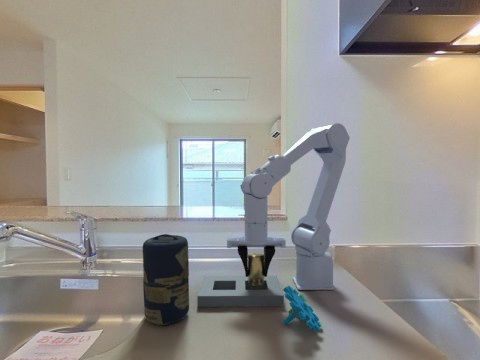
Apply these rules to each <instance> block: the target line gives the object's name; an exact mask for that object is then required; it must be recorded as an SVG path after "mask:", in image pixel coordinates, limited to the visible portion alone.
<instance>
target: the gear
mask: <svg viewBox="0 0 480 360" xmlns="http://www.w3.org/2000/svg"><path fill="white" fill-rule="evenodd" d="M282 291H283V293H284V297H285V298H286V300H289V306H290V309H289V310H288V311H287V313H288V314H289V315H288V316H286V318H285V319H283V321H282V322H283V324H284V325H285V326H287V325H289V324H290V323H291V322H292V321H293V320H294V319H295V318H296V317H297V318H299V319H300V321H303V320H304V319H305V320H306V322H305V324H306V326H307V327H308V328H309V329H313V330H314V331H315V332H319V331H320V330H321V327H322V324H321V323H320V322H319V321H320V318H319V316H318V315H317V314H315V313H314V309H313V307H312V306H311V305H308V303H307V300H306V298H305V296H304V295H303V293H300V294H299V292H298V291H297V290H296V289H293V287H292V286H291V285H288V286H285V287H284V288H283V289H282Z"/></svg>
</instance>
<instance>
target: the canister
mask: <svg viewBox="0 0 480 360" xmlns="http://www.w3.org/2000/svg"><path fill="white" fill-rule="evenodd" d="M189 263H190V262H189V243H188V239H187V238H186V237H185V236H182V235H175V234H169V233H165V234H159V235H157V236H154V237H150V238H148V239H146V240H145V241H143V243H142V268H143V269H142V270H143V271H142V273H143V277H142V278H143V280H142V283H143V285H142V286H143V305H144V307H143V309H144V312H143V313H144V317H145V319H146V321H148V322H149V323H151V324H155V325H158V326H159V325H160V326H162V325H163V326H164V325H169V324H174V323H176V322H178V321H181V320H183V319H184V318H185V317H186V316H187V315H188V313H189V310H190V289H189V288H190V285H189V281H190V280H189V277H190V276H189V275H190V274H189V273H190V269H189V266H190V265H189Z"/></svg>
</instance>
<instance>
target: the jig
mask: <svg viewBox="0 0 480 360" xmlns="http://www.w3.org/2000/svg"><path fill="white" fill-rule="evenodd" d="M284 297H285V294H284V291H283V289H282V287H281V284H280V281H279V277H278V275H267V277H264V284H263V285H261V286H252V285H250V284H248V277H246V275H204V276H203V278H202V281H201V284H200V286H199V290H198V293H197V297H196V298H197V299H196V300H197V303H196V304H197V308H198V307H199V308H204V307H206V308H207V307H208V308H213V307H215V308H216V307H217V308H219V307H230V308H231V307H284V306H285V299H284Z"/></svg>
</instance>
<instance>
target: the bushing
mask: <svg viewBox="0 0 480 360" xmlns="http://www.w3.org/2000/svg"><path fill="white" fill-rule="evenodd" d="M248 284H250V285H252V286H261V285H263V284H264V253H259V252H252V253H251V252H250V253H248Z"/></svg>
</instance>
